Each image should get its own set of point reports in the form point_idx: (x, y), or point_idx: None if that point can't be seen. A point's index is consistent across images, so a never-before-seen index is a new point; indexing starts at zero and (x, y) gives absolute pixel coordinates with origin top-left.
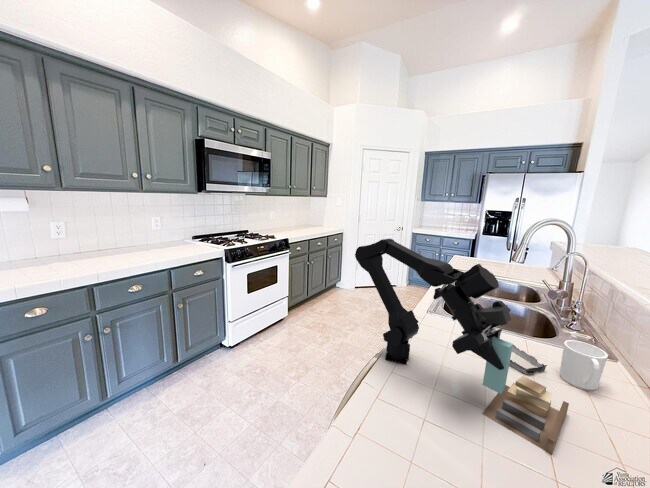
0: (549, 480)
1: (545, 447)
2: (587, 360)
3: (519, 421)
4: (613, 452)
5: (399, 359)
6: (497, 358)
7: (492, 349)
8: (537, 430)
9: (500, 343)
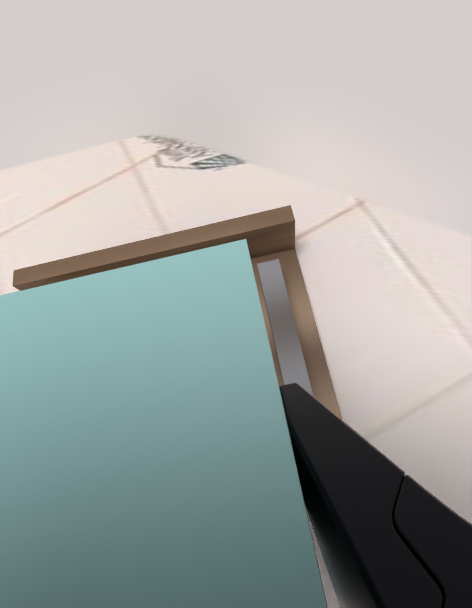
0: (378, 210)
1: (279, 255)
2: None
3: (285, 323)
4: (106, 186)
5: None
6: (356, 442)
7: (455, 576)
8: (267, 270)
9: (256, 497)
